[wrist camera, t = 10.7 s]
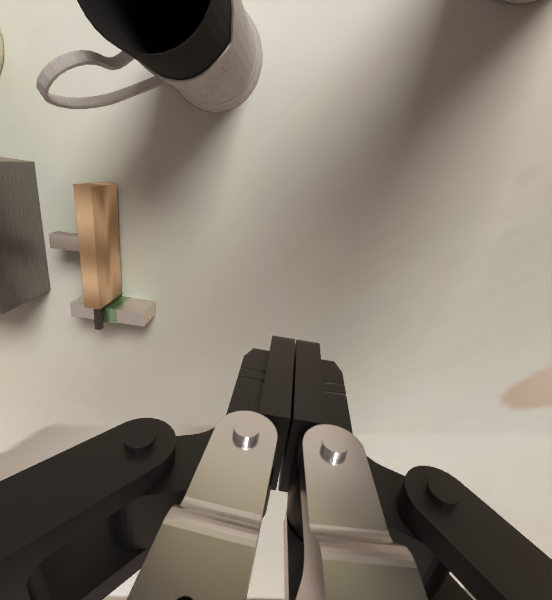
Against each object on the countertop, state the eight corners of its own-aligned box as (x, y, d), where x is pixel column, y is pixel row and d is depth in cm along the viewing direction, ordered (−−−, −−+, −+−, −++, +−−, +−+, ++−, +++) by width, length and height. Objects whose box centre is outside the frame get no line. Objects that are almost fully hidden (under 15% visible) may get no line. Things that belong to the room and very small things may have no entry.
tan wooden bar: (62, 176, 35) (29, 178, 30) (116, 184, 34) (90, 187, 30) (75, 308, 40) (49, 326, 36) (122, 315, 40) (101, 333, 36)
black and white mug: (280, 74, 30) (265, -3, 17) (159, 163, 34) (62, 162, 20) (225, -32, 28) (153, -226, 14) (100, 77, 31) (-57, 7, 18)
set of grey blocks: (-26, 153, 35) (-106, 150, 28) (155, 178, 34) (119, 182, 28) (0, 292, 40) (-61, 318, 33) (155, 314, 40) (126, 345, 33)
